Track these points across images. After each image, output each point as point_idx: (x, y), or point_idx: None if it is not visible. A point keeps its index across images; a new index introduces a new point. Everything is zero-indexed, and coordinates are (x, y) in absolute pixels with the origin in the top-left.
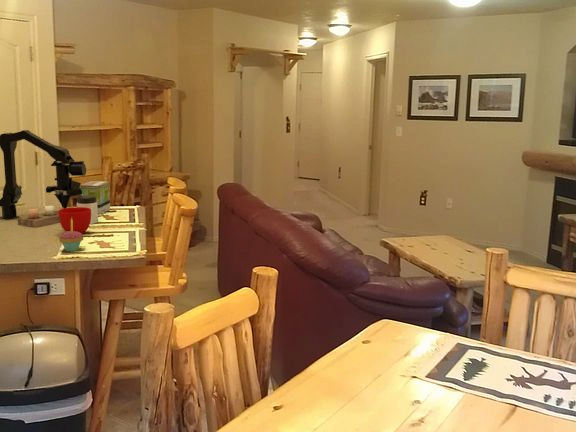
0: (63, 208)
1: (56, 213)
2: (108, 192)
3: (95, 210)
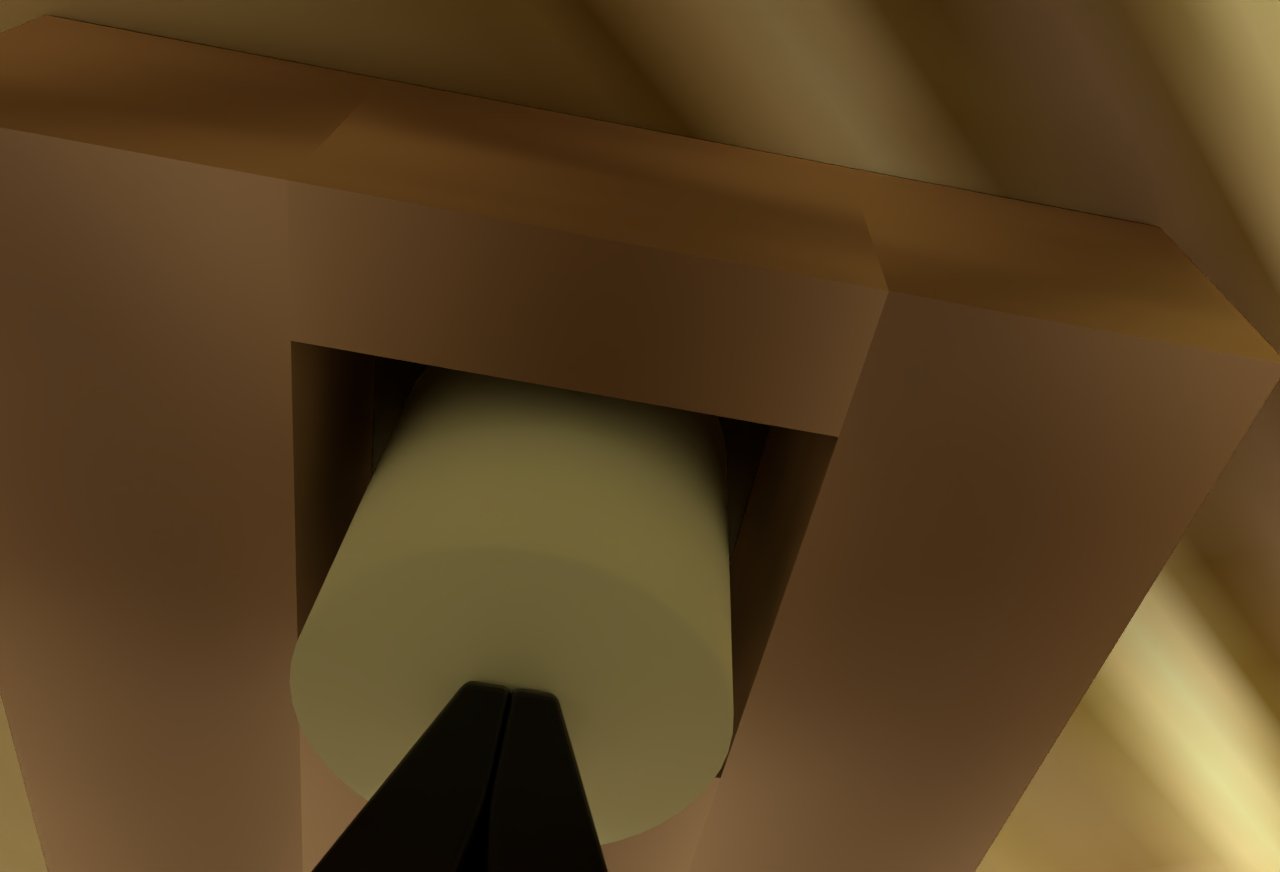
0: None
1: None
2: None
3: None
